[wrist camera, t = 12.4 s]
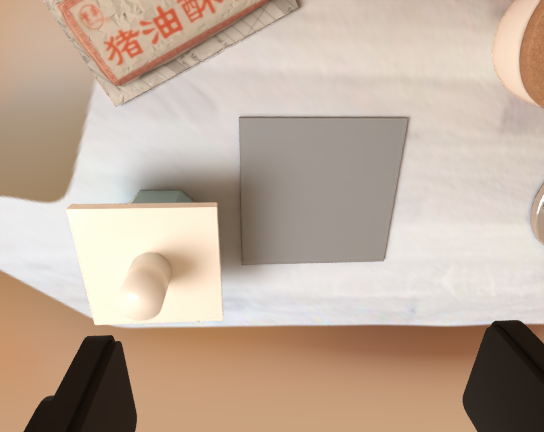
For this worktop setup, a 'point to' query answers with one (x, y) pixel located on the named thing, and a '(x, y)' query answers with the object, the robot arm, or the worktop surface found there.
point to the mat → (317, 188)
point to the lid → (149, 261)
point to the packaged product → (156, 35)
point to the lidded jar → (521, 51)
